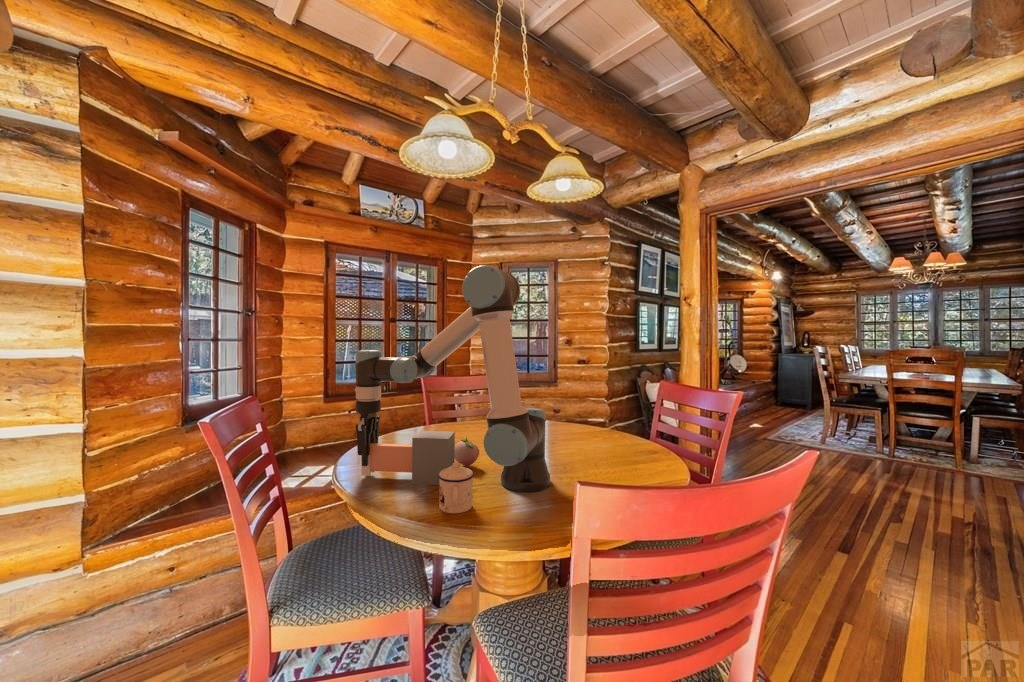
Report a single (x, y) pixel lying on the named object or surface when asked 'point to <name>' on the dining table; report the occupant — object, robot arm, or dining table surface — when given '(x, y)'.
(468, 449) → the decorative fruit
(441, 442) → the gray rectangular block
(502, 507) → the dining table surface
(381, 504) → the dining table surface
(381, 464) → the orange rectangular block
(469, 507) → the teacup with lid
